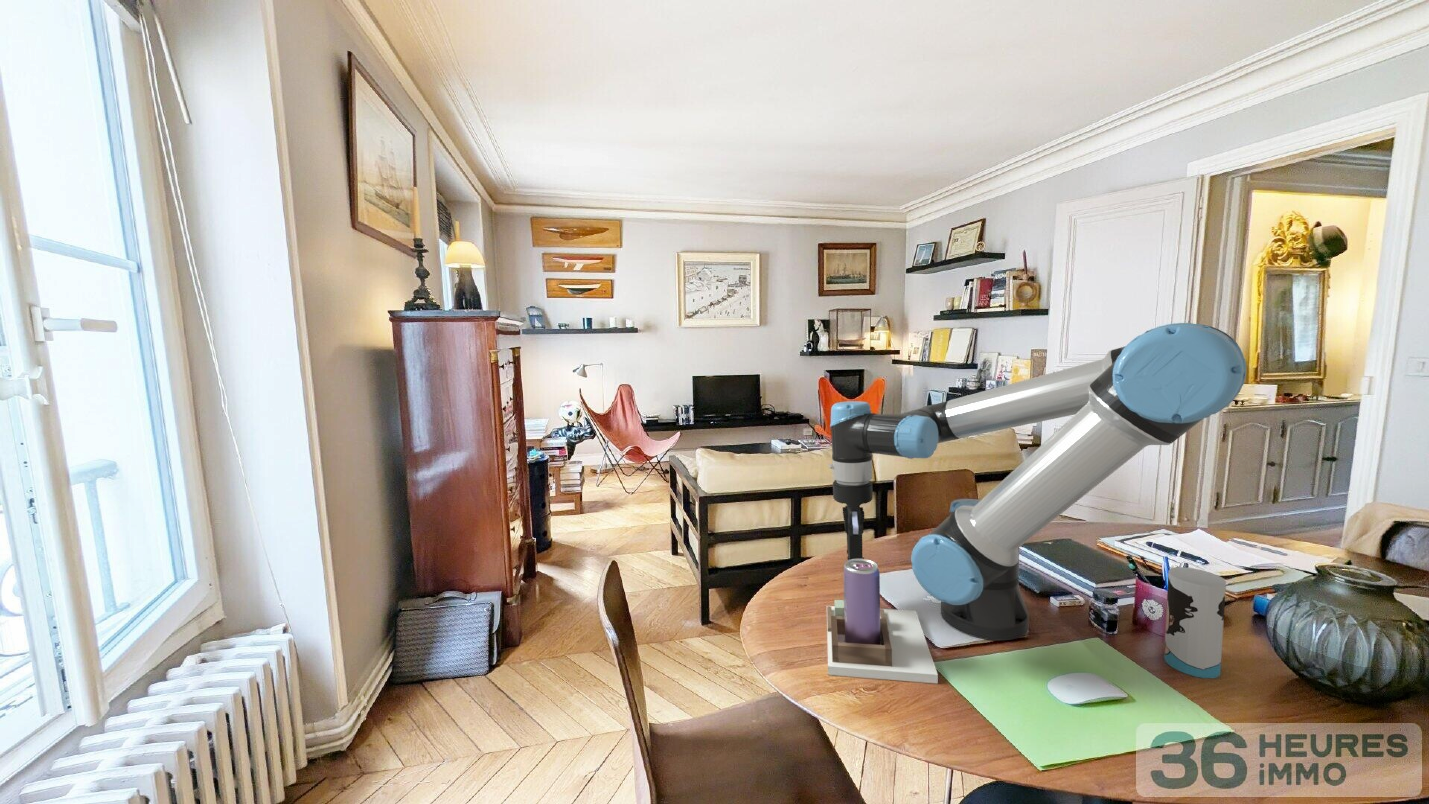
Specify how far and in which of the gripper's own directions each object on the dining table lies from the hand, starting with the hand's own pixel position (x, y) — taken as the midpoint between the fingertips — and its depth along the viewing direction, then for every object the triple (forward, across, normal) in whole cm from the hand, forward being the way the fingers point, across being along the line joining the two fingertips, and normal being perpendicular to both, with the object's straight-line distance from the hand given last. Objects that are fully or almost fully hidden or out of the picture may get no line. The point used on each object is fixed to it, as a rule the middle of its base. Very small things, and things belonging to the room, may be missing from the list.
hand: (855, 595), depth 105 cm
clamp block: (+2, +7, 0) cm, 8 cm away
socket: (+2, +15, 0) cm, 15 cm away
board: (+4, +11, +3) cm, 12 cm away
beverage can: (+3, +15, 0) cm, 15 cm away
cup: (+5, +11, +52) cm, 53 cm away
